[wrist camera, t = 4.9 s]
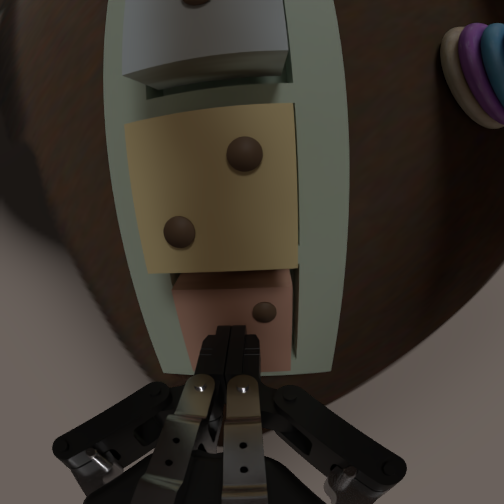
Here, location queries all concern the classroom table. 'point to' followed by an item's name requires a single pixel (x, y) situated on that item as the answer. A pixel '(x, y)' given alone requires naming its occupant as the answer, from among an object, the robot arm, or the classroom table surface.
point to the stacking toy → (476, 71)
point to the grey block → (202, 40)
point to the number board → (308, 176)
